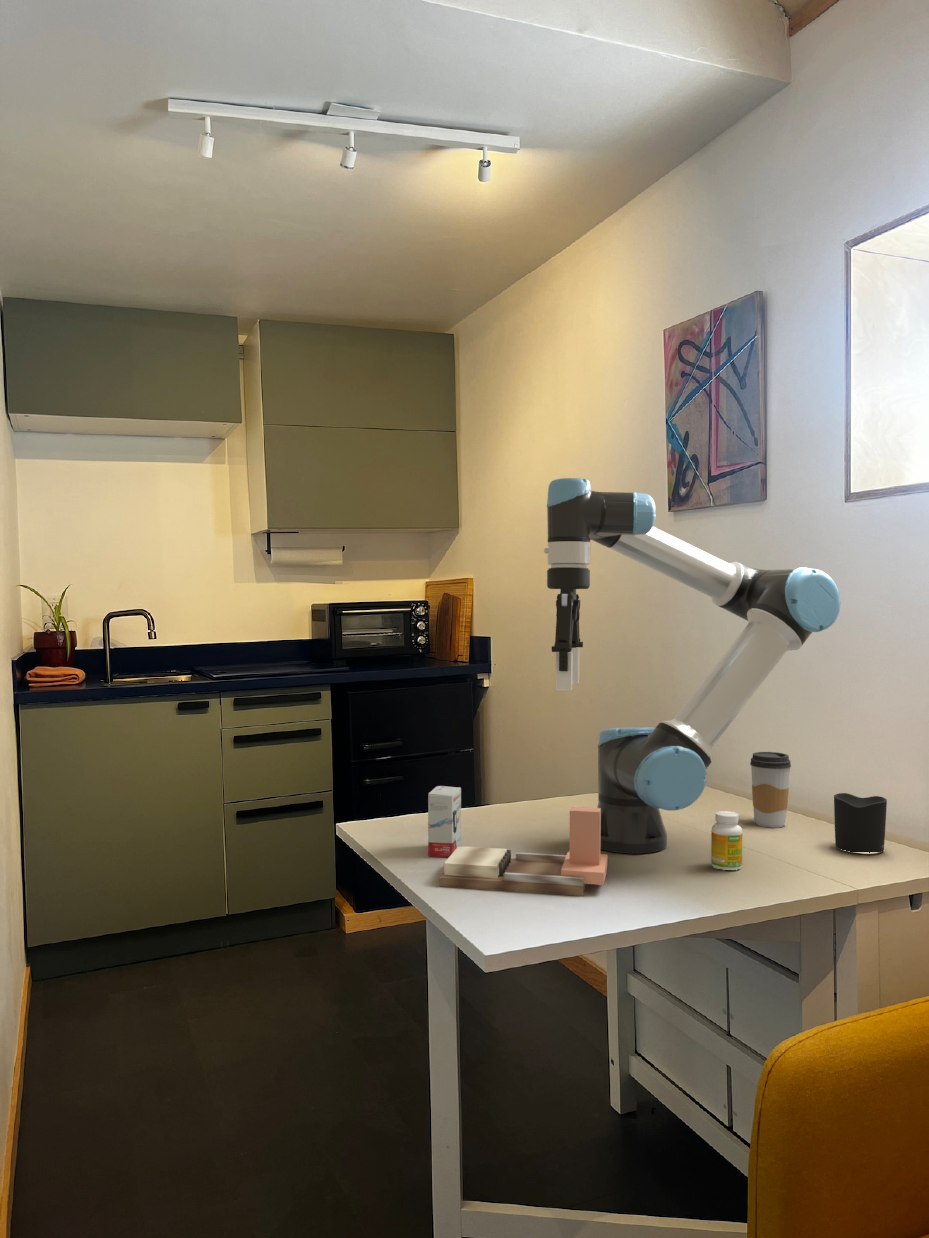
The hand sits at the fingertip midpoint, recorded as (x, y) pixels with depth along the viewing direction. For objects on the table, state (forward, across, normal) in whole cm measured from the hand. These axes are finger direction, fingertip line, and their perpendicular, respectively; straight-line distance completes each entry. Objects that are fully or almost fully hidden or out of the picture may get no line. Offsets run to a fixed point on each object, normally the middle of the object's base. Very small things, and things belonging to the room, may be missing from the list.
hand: (567, 686), depth 165 cm
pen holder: (+33, -26, +54) cm, 68 cm away
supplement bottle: (+33, -8, +28) cm, 44 cm away
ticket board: (+33, +7, -8) cm, 34 cm away
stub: (+31, +7, +4) cm, 32 cm away
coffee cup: (+33, -43, +39) cm, 67 cm away
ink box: (+33, -7, -24) cm, 41 cm away
